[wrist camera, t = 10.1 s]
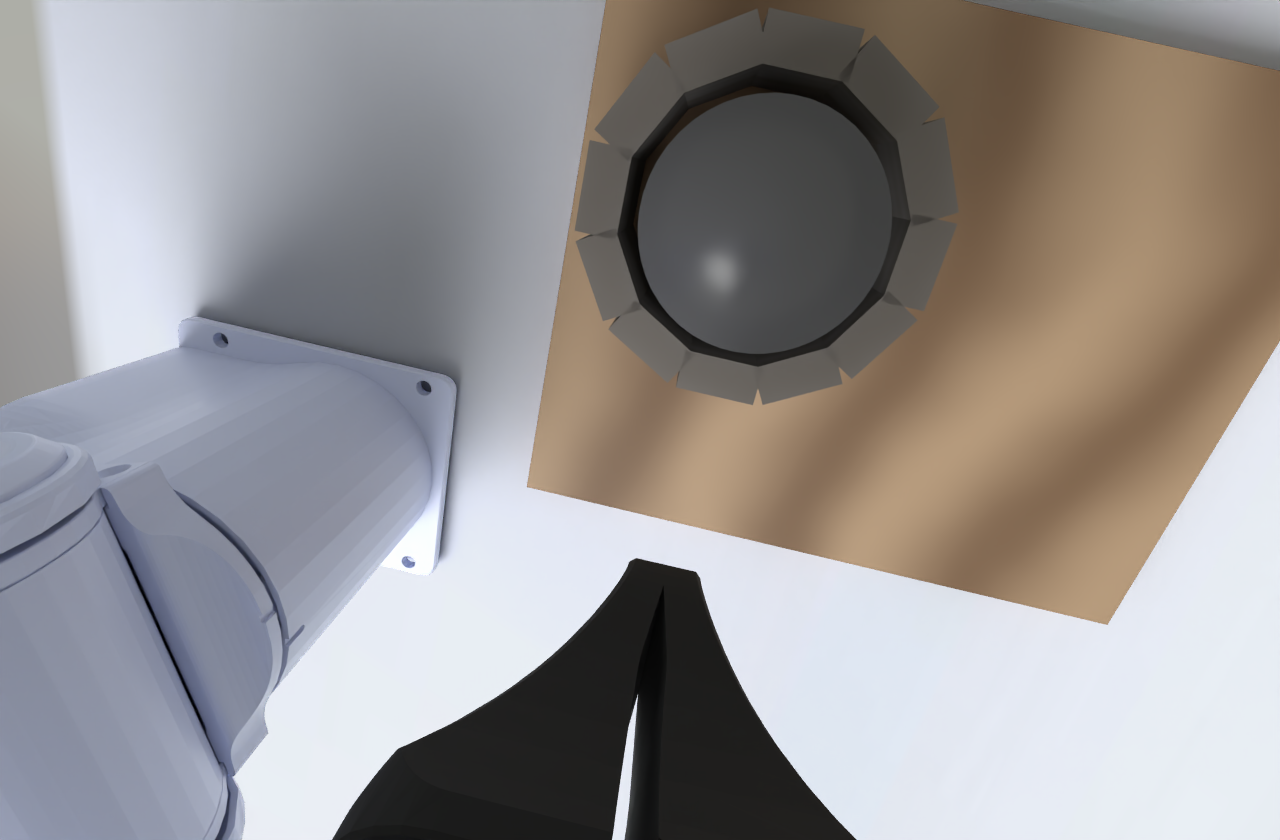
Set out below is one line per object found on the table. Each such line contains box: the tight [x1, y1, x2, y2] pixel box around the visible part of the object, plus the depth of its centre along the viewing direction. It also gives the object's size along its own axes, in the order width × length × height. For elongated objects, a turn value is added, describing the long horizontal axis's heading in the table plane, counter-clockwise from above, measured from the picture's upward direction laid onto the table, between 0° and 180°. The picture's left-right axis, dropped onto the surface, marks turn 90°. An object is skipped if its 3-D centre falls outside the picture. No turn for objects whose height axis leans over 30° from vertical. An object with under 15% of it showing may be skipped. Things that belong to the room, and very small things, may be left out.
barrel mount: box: [527, 0, 1280, 625], centre depth 17 cm, size 20×16×4 cm
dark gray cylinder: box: [638, 93, 892, 354], centre depth 15 cm, size 5×5×6 cm
